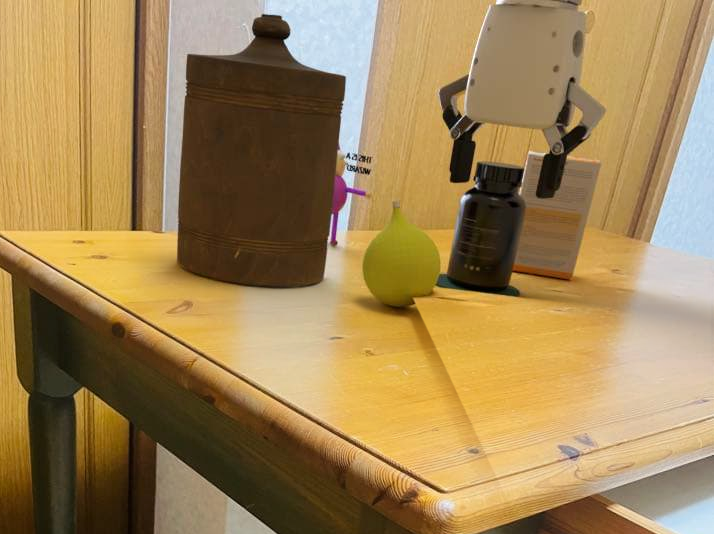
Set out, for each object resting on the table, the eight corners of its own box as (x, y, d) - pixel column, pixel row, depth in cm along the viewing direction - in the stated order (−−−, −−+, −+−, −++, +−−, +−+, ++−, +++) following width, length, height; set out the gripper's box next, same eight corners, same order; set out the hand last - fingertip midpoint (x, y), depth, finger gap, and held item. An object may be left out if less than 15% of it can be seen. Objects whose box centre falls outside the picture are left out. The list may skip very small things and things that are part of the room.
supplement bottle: (455, 273, 95) (478, 157, 89) (514, 286, 92) (542, 168, 86) (436, 283, 89) (459, 159, 83) (498, 296, 87) (527, 171, 81)
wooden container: (273, 251, 94) (295, 22, 83) (352, 286, 84) (388, 29, 73) (151, 252, 86) (157, -1, 75) (221, 290, 76) (241, 3, 65)
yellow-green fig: (363, 291, 82) (379, 182, 77) (434, 303, 81) (455, 193, 77) (352, 307, 76) (369, 189, 71) (429, 320, 75) (452, 202, 70)
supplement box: (569, 274, 104) (600, 159, 98) (571, 281, 100) (603, 162, 94) (503, 263, 105) (528, 148, 99) (502, 270, 101) (528, 151, 95)
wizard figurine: (369, 253, 100) (386, 143, 94) (353, 255, 98) (369, 142, 92) (298, 234, 106) (310, 128, 100) (282, 235, 104) (292, 128, 98)
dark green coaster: (509, 282, 95) (509, 280, 95) (528, 302, 87) (529, 300, 87) (425, 271, 95) (425, 269, 95) (437, 291, 86) (437, 289, 86)
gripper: (645, 1, 76) (595, 202, 84) (475, -8, 85) (445, 176, 93) (616, -11, 71) (565, 206, 79) (438, -19, 79) (409, 177, 87)
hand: (500, 189), depth 86 cm, fingers open, 9 cm apart
